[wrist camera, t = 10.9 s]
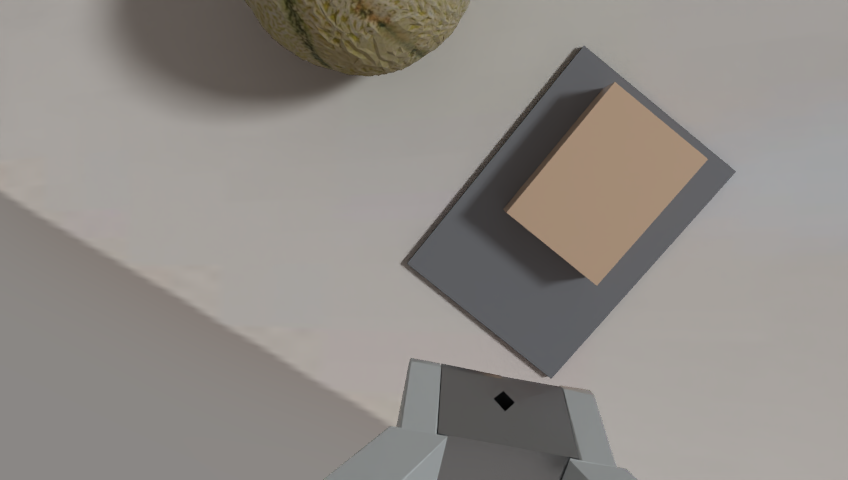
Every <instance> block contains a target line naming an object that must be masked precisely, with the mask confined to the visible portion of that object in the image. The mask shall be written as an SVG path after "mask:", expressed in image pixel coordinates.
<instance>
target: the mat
mask: <svg viewBox="0 0 848 480" xmlns="http://www.w3.org/2000/svg"><path fill="white" fill-rule="evenodd" d="M614 82H616V83H617V84H618V85H619V86H621V87H622V88H623V89H624V90H625V91H627V92H628V93H629V94H630V95H631V96H633V97H634V98H635V99H636V100H637V101H639V102H640V103H641V104H642V105H643V106H645V107H646V108H647V109H648V110H650V111H651V112H652V113H653V114H654V115H656V116H657V117H658V118H659V119H660V120H662V121H663V122H664V123H665V124H666V125H668V126H669V127H670V128H671V129H672V130H674V131H675V132H676V133H677V134H678V135H680V136H681V137H682V138H683V139H685V140H686V141H687V142H688V143H689V144H691V145H692V146H693V147H694V148H695V149H697V150H698V151H699V152H700V153H701V154H703V155H704V156H705V157H706V158H707V159H708V160H707V161H706V162H705V163H704V165H703V166H702V167H701V168H700V169H699V170H698V171H697V172H696V174H695V175H694V176H693V177H692V178H691V179H690V180H689V182H688V183H687V184H686V185H685V186H684V187H683V188H682V190H681V191H680V192H679V193H678V194H677V195H676V196H675V197H674V199H673V200H672V201H671V202H670V203H669V204H668V205H667V207H666V208H665V209H664V210H663V211H662V212H661V213H660V215H659V216H658V217H657V218H656V219H655V220H654V221H653V222H652V224H651V225H650V226H649V227H648V228H647V229H646V230H645V232H644V233H643V234H642V235H641V236H640V237H639V238H638V240H637V241H636V242H635V243H634V244H633V245H632V246H631V247H630V249H629V250H628V251H627V252H626V253H625V254H624V255H623V257H622V258H621V259H620V260H619V261H618V262H617V263H616V265H615V266H614V267H613V268H612V269H611V270H610V271H609V273H608V274H607V275H606V276H605V277H604V278H603V279H602V280H601V282H600V283H599V284H598V285H597V286H596V285H595V284H594V283H593V282H592V281H590V280H589V279H588V278H587V277H585V276H584V275H583V274H582V273H580V272H579V271H578V270H577V269H575V268H574V267H573V266H572V265H571V264H569V263H568V262H567V261H566V260H564V259H563V258H562V257H561V256H559V255H558V254H557V253H556V252H555V251H553V250H552V249H551V248H550V247H548V246H547V245H546V244H545V243H543V242H542V241H541V240H540V239H538V238H537V237H536V236H535V235H534V234H532V233H531V232H530V231H529V230H527V229H526V228H525V227H524V226H522V225H521V224H520V223H519V222H517V221H516V220H515V219H514V218H513V217H511V216H510V215H509V214H508V213H506V212H505V211H504V210H503V209H504V207H505V206H506V205H507V204H508V203H509V201H510V200H511V199H512V198H513V196H514V195H515V194H516V193H517V192H518V190H519V189H520V188H521V187H522V186H523V184H524V183H525V182H526V181H527V180H528V178H529V177H530V176H531V175H532V174H533V172H534V171H535V170H536V169H537V167H538V166H539V165H540V164H541V163H542V161H543V160H544V159H545V158H546V157H547V155H548V154H549V153H550V152H551V151H552V149H553V148H554V147H555V146H556V145H557V143H558V142H559V141H560V140H561V139H562V137H563V136H564V135H565V134H566V132H567V131H568V130H569V129H570V128H571V126H572V125H573V124H574V123H575V122H576V120H577V119H578V118H579V117H580V116H581V114H582V113H583V112H584V111H585V110H586V108H587V107H588V106H589V105H590V103H591V102H592V101H593V100H594V99H595V97H596V96H597V95H598V94H599V93H600V91H601V90H602V89H603V88H604V87H606V86H608V85H610V84H612V83H614ZM735 172H736V171H735V170H733V169H732V168H731V167H730V166H729V165H727V164H726V163H725V162H724V161H723V160H721V159H720V158H719V157H718V156H717V155H715V154H714V153H713V152H712V151H710V150H709V149H708V148H707V147H706V146H704V145H703V144H702V143H701V142H700V141H698V140H697V139H696V138H695V137H694V136H692V135H691V134H690V133H689V132H688V131H686V130H685V129H684V128H683V127H682V126H680V125H679V124H678V123H677V122H676V121H674V120H673V119H672V118H671V117H669V116H668V115H667V114H666V113H665V112H663V111H662V110H661V109H660V108H659V107H657V106H656V105H655V104H654V103H653V102H651V101H650V100H649V99H648V98H647V97H645V96H644V95H643V94H642V93H641V92H639V91H638V90H637V89H636V88H635V87H633V86H632V85H631V84H630V83H628V82H627V81H626V80H625V79H624V78H622V77H621V76H620V75H619V74H618V73H616V72H615V71H614V70H613V69H612V68H610V67H609V66H608V65H607V64H606V63H604V62H603V61H602V60H601V59H600V58H598V57H597V56H596V55H595V54H594V53H592V52H591V51H590V50H589V49H587V48H586V47H585V46H583V47H582V48H581V50H580V51H579V52H578V53H577V55H576V56H575V57H574V58H573V59H572V61H571V62H570V63H569V64H568V66H567V67H566V68H565V69H564V71H563V72H562V73H561V74H560V76H559V77H558V78H557V79H556V80H555V82H554V83H553V84H552V85H551V87H550V88H549V89H548V90H547V92H546V93H545V94H544V95H543V96H542V98H541V99H540V100H539V101H538V103H537V104H536V105H535V106H534V108H533V109H532V110H531V111H530V112H529V114H528V115H527V116H526V117H525V119H524V120H523V121H522V122H521V124H520V125H519V126H518V127H517V128H516V130H515V131H514V132H513V133H512V135H511V136H510V137H509V138H508V140H507V141H506V142H505V143H504V145H503V146H502V147H501V148H500V149H499V151H498V152H497V153H496V154H495V156H494V157H493V158H492V159H491V161H490V162H489V163H488V164H487V165H486V167H485V168H484V169H483V170H482V172H481V173H480V174H479V175H478V177H477V178H476V179H475V180H474V181H473V183H472V184H471V185H470V186H469V188H468V189H467V190H466V191H465V193H464V194H463V195H462V196H461V197H460V199H459V200H458V201H457V202H456V204H455V205H454V206H453V207H452V209H451V210H450V211H449V212H448V214H447V215H446V216H445V217H444V218H443V220H442V221H441V222H440V223H439V225H438V226H437V227H436V228H435V230H434V231H433V232H432V233H431V234H430V236H429V237H428V238H427V239H426V241H425V242H424V243H423V244H422V246H421V247H420V248H419V249H418V250H417V252H416V253H415V254H414V255H413V257H412V258H411V259H410V260H409V262H408V263H407V264H408V265H410V266H411V267H412V268H413V269H415V270H416V271H417V272H418V273H420V274H421V275H422V276H423V277H425V278H426V279H427V280H428V281H430V282H431V283H432V284H433V285H435V286H436V287H437V288H438V289H440V290H441V291H442V292H443V293H445V294H446V295H447V296H448V297H450V298H451V299H452V300H453V301H455V302H456V303H457V304H458V305H460V306H461V307H462V308H463V309H465V310H466V311H467V312H468V313H470V314H471V315H472V316H473V317H475V318H476V319H477V320H478V321H480V322H481V323H482V324H483V325H485V326H486V327H487V328H488V329H490V330H491V331H492V332H493V333H495V334H496V335H497V336H498V337H500V338H501V339H502V340H503V341H505V342H506V343H507V344H508V345H510V346H511V347H512V348H513V349H515V350H516V351H517V352H518V353H520V354H521V355H522V356H523V357H525V358H526V359H527V360H528V361H530V362H531V363H532V364H533V365H535V366H536V367H537V368H538V369H540V370H541V371H542V372H543V373H545V374H546V375H547V376H548V377H550V378H552V377H553V376H554V375H555V374H556V373H557V372H558V370H559V369H560V368H561V367H562V366H563V365H564V364H565V363H566V362H567V360H568V359H569V358H570V357H571V356H572V355H573V354H574V353H575V351H576V350H577V349H578V348H579V347H580V346H581V345H582V344H583V342H584V341H585V340H586V339H587V338H588V337H589V336H590V335H591V333H592V332H593V331H594V330H595V329H596V328H597V327H598V326H599V325H600V323H601V322H602V321H603V320H604V319H605V318H606V317H607V316H608V314H609V313H610V312H611V311H612V310H613V309H614V308H615V307H616V305H617V304H618V303H619V302H620V301H621V300H622V299H623V298H624V296H625V295H626V294H627V293H628V292H629V291H630V290H631V289H632V288H633V286H634V285H635V284H636V283H637V282H638V281H639V280H640V279H641V277H642V276H643V275H644V274H645V273H646V272H647V271H648V270H649V268H650V267H651V266H652V265H653V264H654V263H655V262H656V261H657V259H658V258H659V257H660V256H661V255H662V254H663V253H664V252H665V251H666V249H667V248H668V247H669V246H670V245H671V244H672V243H673V242H674V240H675V239H676V238H677V237H678V236H679V235H680V234H681V233H682V231H683V230H684V229H685V228H686V227H687V226H688V225H689V224H690V222H691V221H692V220H693V219H694V218H695V217H696V216H697V215H698V214H699V212H700V211H701V210H702V209H703V208H704V207H705V206H706V205H707V203H708V202H709V201H710V200H711V199H712V198H713V197H714V196H715V194H716V193H717V192H718V191H719V190H720V189H721V188H722V187H723V185H724V184H725V183H726V182H727V181H728V180H729V179H730V178H731V177H732V175H733V174H734V173H735Z"/></svg>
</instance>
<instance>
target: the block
mask: <svg viewBox="0 0 848 480" xmlns="http://www.w3.org/2000/svg"><path fill="white" fill-rule="evenodd" d="M707 160H708V159H707V158H706V157H705V156H704V155H703V154H701V153H700V152H699V151H698V150H697V149H695V148H694V147H693V146H692V145H691V144H689V143H688V142H687V141H686V140H685V139H683V138H682V137H681V136H680V135H678V134H677V133H676V132H675V131H674V130H672V129H671V128H670V127H669V126H668V125H666V124H665V123H664V122H663V121H662V120H660V119H659V118H658V117H657V116H656V115H654V114H653V113H652V112H651V111H650V110H648V109H647V108H646V107H645V106H643V105H642V104H641V103H640V102H639V101H637V100H636V99H635V98H634V97H633V96H631V95H630V94H629V93H628V92H627V91H625V90H624V89H623V88H622V87H621V86H619V85H618V84H617V83H616V82H614V83H612V84H610V85H608V86H606V87H604V88H603V89H602V90H601V91H600V93H599V94H598V95H597V96H596V97H595V99H594V100H593V101H592V102H591V103H590V105H589V106H588V107H587V108H586V110H585V111H584V112H583V113H582V114H581V116H580V117H579V118H578V119H577V120H576V122H575V123H574V124H573V125H572V126H571V128H570V129H569V130H568V131H567V132H566V134H565V135H564V136H563V137H562V139H561V140H560V141H559V142H558V143H557V145H556V146H555V147H554V148H553V149H552V151H551V152H550V153H549V154H548V155H547V157H546V158H545V159H544V160H543V161H542V163H541V164H540V165H539V166H538V167H537V169H536V170H535V171H534V172H533V174H532V175H531V176H530V177H529V178H528V180H527V181H526V182H525V183H524V184H523V186H522V187H521V188H520V189H519V190H518V192H517V193H516V194H515V195H514V196H513V198H512V199H511V200H510V201H509V203H508V204H507V205H506V206H505V207H504V209H503V210H504V211H505V212H506V213H508V214H509V215H510V216H511V217H513V218H514V219H515V220H516V221H517V222H519V223H520V224H521V225H522V226H524V227H525V228H526V229H527V230H529V231H530V232H531V233H532V234H534V235H535V236H536V237H537V238H538V239H540V240H541V241H542V242H543V243H545V244H546V245H547V246H548V247H550V248H551V249H552V250H553V251H555V252H556V253H557V254H558V255H559V256H561V257H562V258H563V259H564V260H566V261H567V262H568V263H569V264H571V265H572V266H573V267H574V268H575V269H577V270H578V271H579V272H580V273H582V274H583V275H584V276H585V277H587V278H588V279H589V280H590V281H592V282H593V283H594V284H595V285H596V286H597V285H598V284H599V283H600V282H601V280H602V279H603V278H604V277H605V276H606V275H607V274H608V273H609V271H610V270H611V269H612V268H613V267H614V266H615V265H616V263H617V262H618V261H619V260H620V259H621V258H622V257H623V255H624V254H625V253H626V252H627V251H628V250H629V249H630V247H631V246H632V245H633V244H634V243H635V242H636V241H637V240H638V238H639V237H640V236H641V235H642V234H643V233H644V232H645V230H646V229H647V228H648V227H649V226H650V225H651V224H652V222H653V221H654V220H655V219H656V218H657V217H658V216H659V215H660V213H661V212H662V211H663V210H664V209H665V208H666V207H667V205H668V204H669V203H670V202H671V201H672V200H673V199H674V197H675V196H676V195H677V194H678V193H679V192H680V191H681V190H682V188H683V187H684V186H685V185H686V184H687V183H688V182H689V180H690V179H691V178H692V177H693V176H694V175H695V174H696V172H697V171H698V170H699V169H700V168H701V167H702V166H703V165H704V163H705V162H706V161H707Z"/></svg>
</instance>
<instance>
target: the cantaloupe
mask: <svg viewBox="0 0 848 480" xmlns="http://www.w3.org/2000/svg"><path fill="white" fill-rule="evenodd" d="M245 1H246V3H247V4H248V6H249V7H250V8H251V9H252V10H253V12H254V14H255V16H256V18H257V19H258V21H259V22H260V24H261V26H262V27H263V28H264V29H265V30H266V31H267V32H268V33H269V34H270V35H271V37H272V38H273V39H274V40H276V41H277V42H278V43H279V44H280V45H282V46H283V47H285V48H286V49H287V50H289V51H291V52H293V53H294V54H295V55H296V56H298V57H299V58H300V59H302V60H307V61H308V62H310V63H312V64H314V65H317V66H320V67H324V68H328V69H332V70H335V71H339V72H342V73H344V74H347V75H363V76H373V75H378V76H379V75H381V74H387V73H392V72H395V71H397V70H402V69H404V68H406V67H408V66H410V65H411V64H413V63H414V62H417V61H418V60H420V59H421V58H422V57H424V56H425V55H427V54H428V53H429V52H431V51H433V50H435V49H436V48H437V47H438V46H439V45H441V43H442V42H443V41H444V40H445V39H446V38H448V37H449V36H450V35H451V34H452V33H453V31H454V29H455V28H456V27H457V25H458V23H459V21H460V19H461V17H462V16H463V14H464V13H465V11H466V9H467V8H468V5H469V2H470V0H245Z"/></svg>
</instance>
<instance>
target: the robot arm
mask: <svg viewBox="0 0 848 480" xmlns="http://www.w3.org/2000/svg"><path fill="white" fill-rule="evenodd" d="M323 480H637V479H636V478H635V477H634V476H633V475H632V474H631V473H630V472H629V471H628V470H627V469H625V468H619V467H617V466H616V463H615V460H614V456H613V453H612V450H611V447H610V444H609V441H608V437H607V434H606V431H605V428H604V425H603V422H602V418H601V415H600V412H599V409H598V406H597V402H596V399H595V396H594V394H593V393H592V392H591V391H590V390H585V389H579V388H572V387H565V386H559V387H558V386H553V385H547V384H541V383H536V382H530V381H524V380H519V379H513V378H508V377H502V376H499V375H495V374H490V373H485V372H480V371H475V370H470V369H465V368H460V367H455V366H451V365H446V364H441V365H440V363H435V362H430V361H424V360H419V359H414V358H411V359H410V362H409V366H408V371H407V376H406V381H405V386H404V391H403V396H402V401H401V406H400V411H399V416H398V421H397V427H393V426H389V427H388V428H387V429H386V430H384V431H383V432H382V433H381V434H379V435H378V436H377V437H376V438H375V439H373V440H372V441H371V442H370V443H368V444H367V445H366V446H365V447H363V448H362V449H361V450H360V451H358V452H357V453H356V454H355V455H353V456H352V457H351V458H350V459H348V460H347V461H346V462H345V463H343V464H342V465H341V466H340V467H339V468H337V469H336V470H335V471H333V472H332V473H331V474H330V475H328V476H327V477H326V478H325V479H323Z"/></svg>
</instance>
